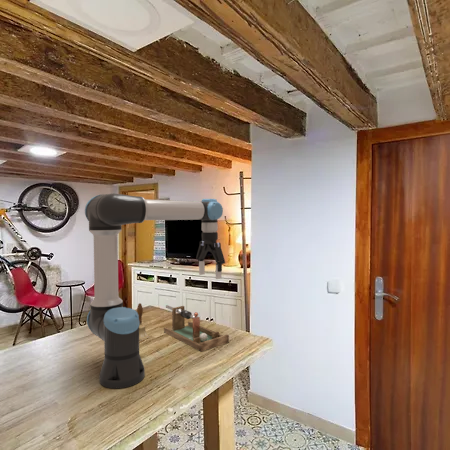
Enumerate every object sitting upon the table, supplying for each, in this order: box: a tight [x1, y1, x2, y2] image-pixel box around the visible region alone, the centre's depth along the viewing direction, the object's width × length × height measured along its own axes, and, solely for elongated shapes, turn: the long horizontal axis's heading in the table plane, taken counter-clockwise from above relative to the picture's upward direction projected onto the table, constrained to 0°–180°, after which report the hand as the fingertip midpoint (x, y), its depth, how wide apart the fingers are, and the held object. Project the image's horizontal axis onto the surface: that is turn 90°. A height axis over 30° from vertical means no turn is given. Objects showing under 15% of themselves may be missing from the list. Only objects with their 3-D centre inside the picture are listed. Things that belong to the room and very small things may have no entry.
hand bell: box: [136, 303, 150, 342], centre depth 155 cm, size 8×8×16 cm
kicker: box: [165, 304, 201, 338], centre depth 161 cm, size 3×27×11 cm, turn 40°
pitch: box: [163, 305, 230, 352], centre depth 153 cm, size 15×30×12 cm, turn 40°
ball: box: [200, 333, 207, 341], centre depth 148 cm, size 4×4×4 cm
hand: (209, 276), depth 158 cm, fingers open, 13 cm apart
